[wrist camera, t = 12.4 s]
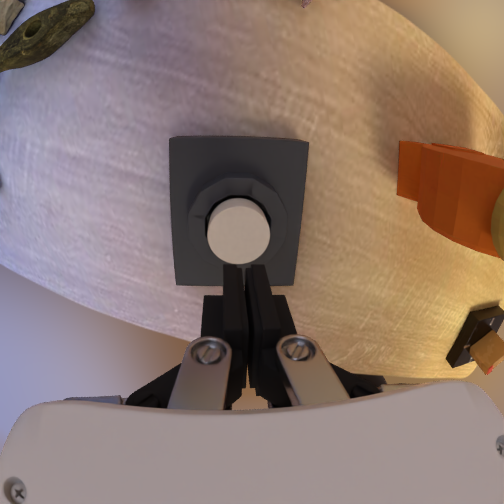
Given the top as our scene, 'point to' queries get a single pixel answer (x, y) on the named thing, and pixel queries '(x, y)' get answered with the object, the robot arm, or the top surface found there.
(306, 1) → the figurine
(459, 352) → the panel
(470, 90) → the top surface
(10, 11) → the stone
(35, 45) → the decorative stone
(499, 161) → the alarm clock
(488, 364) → the knob
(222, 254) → the white push button
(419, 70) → the top surface
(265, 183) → the dark grey button base
